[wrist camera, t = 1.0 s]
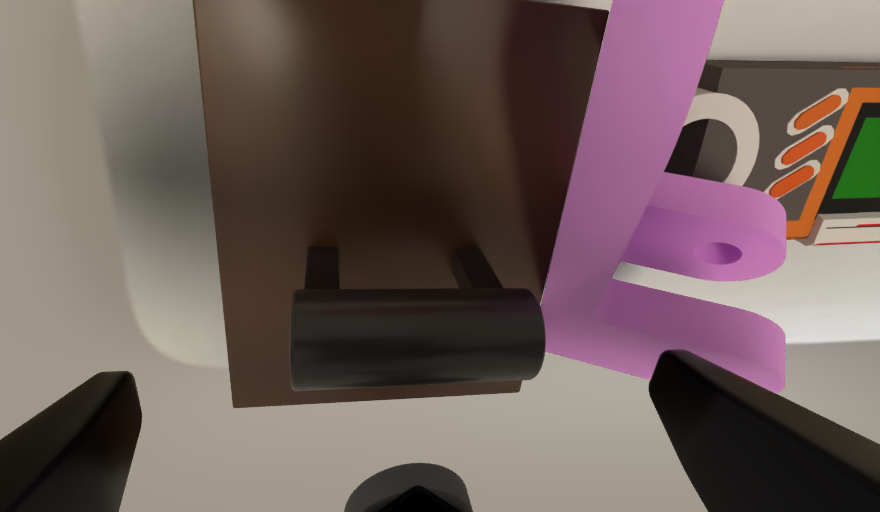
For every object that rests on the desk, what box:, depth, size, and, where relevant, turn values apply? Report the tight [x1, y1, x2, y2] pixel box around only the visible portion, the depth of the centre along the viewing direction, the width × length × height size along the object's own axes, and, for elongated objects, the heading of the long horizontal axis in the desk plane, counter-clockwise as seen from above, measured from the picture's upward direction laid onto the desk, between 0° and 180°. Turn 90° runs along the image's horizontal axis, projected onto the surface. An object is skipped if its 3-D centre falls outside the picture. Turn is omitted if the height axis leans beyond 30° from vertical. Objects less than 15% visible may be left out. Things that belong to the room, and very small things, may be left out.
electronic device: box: [664, 60, 880, 246], centre depth 20 cm, size 7×3×15 cm
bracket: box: [541, 0, 786, 394], centre depth 12 cm, size 13×6×7 cm
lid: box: [193, 0, 609, 408], centre depth 10 cm, size 10×8×5 cm
